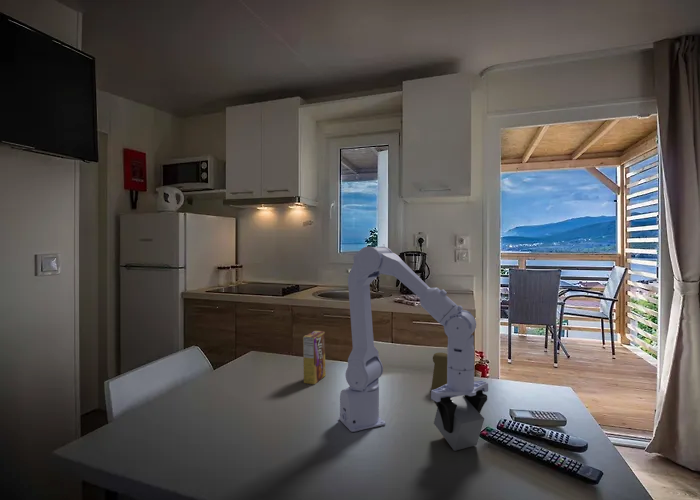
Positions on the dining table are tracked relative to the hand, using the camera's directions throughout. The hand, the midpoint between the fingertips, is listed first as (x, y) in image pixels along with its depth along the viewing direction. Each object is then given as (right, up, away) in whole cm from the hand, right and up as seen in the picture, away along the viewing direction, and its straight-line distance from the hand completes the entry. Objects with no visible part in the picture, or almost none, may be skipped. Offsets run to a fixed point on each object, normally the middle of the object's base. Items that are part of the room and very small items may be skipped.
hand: (460, 427), depth 84 cm
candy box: (-36, -4, +42) cm, 55 cm away
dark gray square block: (-1, -2, +2) cm, 3 cm away
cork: (+4, -4, +34) cm, 34 cm away
